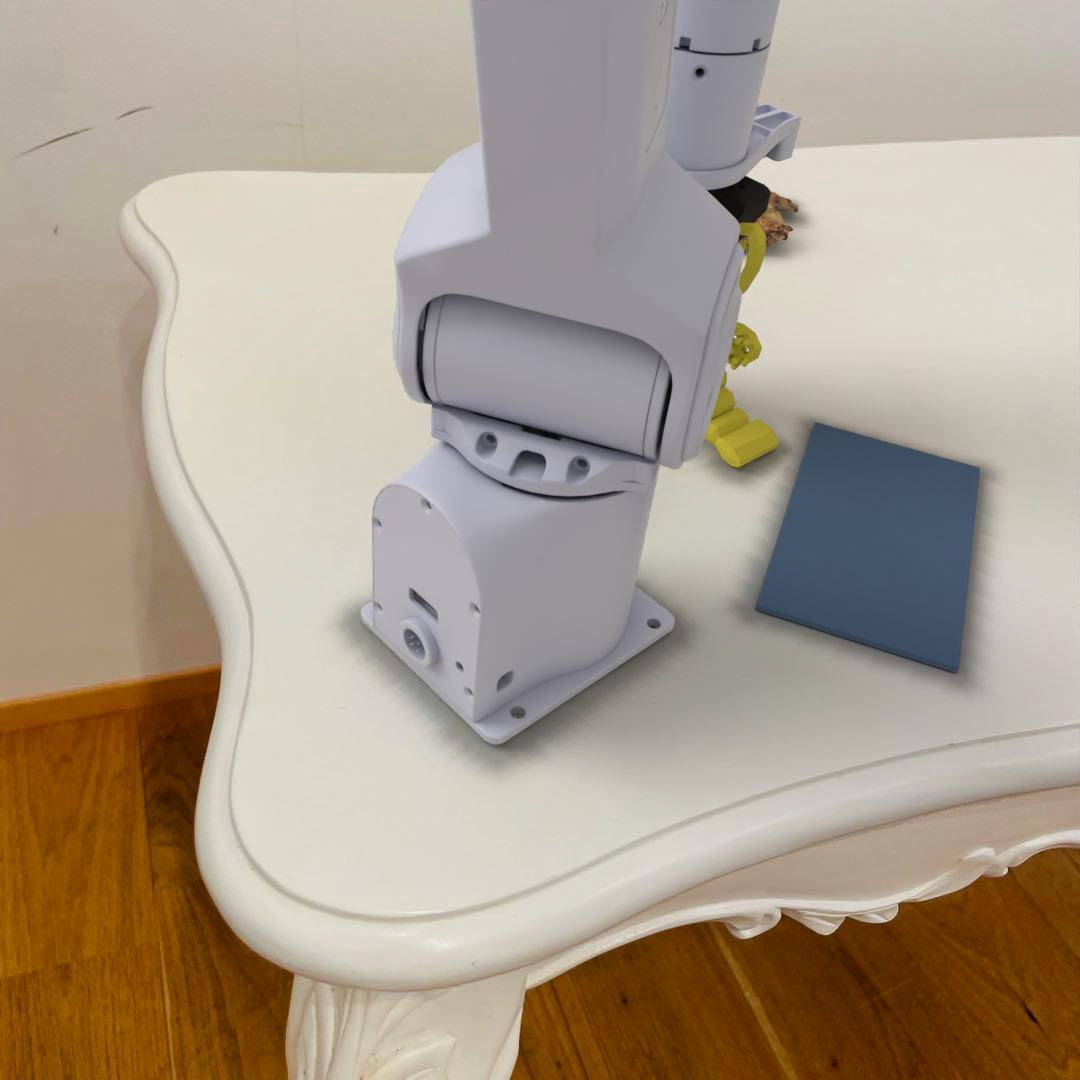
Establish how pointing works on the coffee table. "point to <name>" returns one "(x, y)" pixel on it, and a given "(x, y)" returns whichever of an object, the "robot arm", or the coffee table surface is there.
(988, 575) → the coffee table surface
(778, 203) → the crusty food piece
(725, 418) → the decorative insect
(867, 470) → the blue rectangular board
